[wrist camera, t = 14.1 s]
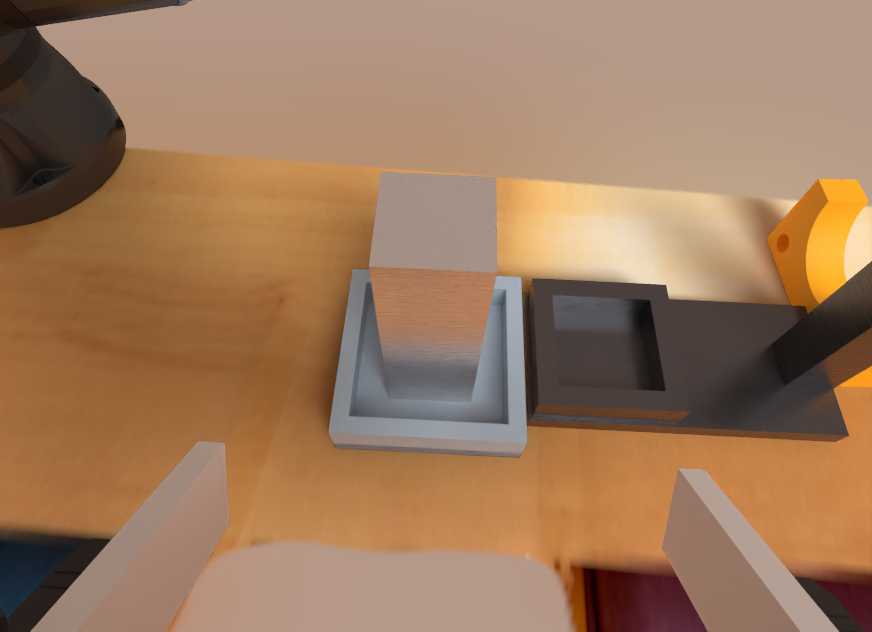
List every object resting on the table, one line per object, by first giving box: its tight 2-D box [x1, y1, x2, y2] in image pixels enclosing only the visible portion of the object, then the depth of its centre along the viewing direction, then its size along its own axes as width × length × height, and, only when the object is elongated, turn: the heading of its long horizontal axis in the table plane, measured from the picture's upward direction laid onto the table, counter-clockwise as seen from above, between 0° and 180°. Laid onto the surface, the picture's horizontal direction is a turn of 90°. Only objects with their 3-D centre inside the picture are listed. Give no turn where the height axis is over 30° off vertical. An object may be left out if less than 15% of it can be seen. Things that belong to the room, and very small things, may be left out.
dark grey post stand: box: [522, 261, 872, 442], centre depth 28 cm, size 19×9×17 cm, turn 87°
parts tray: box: [328, 269, 527, 458], centre depth 34 cm, size 11×11×3 cm
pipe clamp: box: [766, 179, 872, 387], centre depth 36 cm, size 12×4×6 cm, turn 0°
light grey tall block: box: [369, 172, 497, 403], centre depth 29 cm, size 5×5×14 cm
